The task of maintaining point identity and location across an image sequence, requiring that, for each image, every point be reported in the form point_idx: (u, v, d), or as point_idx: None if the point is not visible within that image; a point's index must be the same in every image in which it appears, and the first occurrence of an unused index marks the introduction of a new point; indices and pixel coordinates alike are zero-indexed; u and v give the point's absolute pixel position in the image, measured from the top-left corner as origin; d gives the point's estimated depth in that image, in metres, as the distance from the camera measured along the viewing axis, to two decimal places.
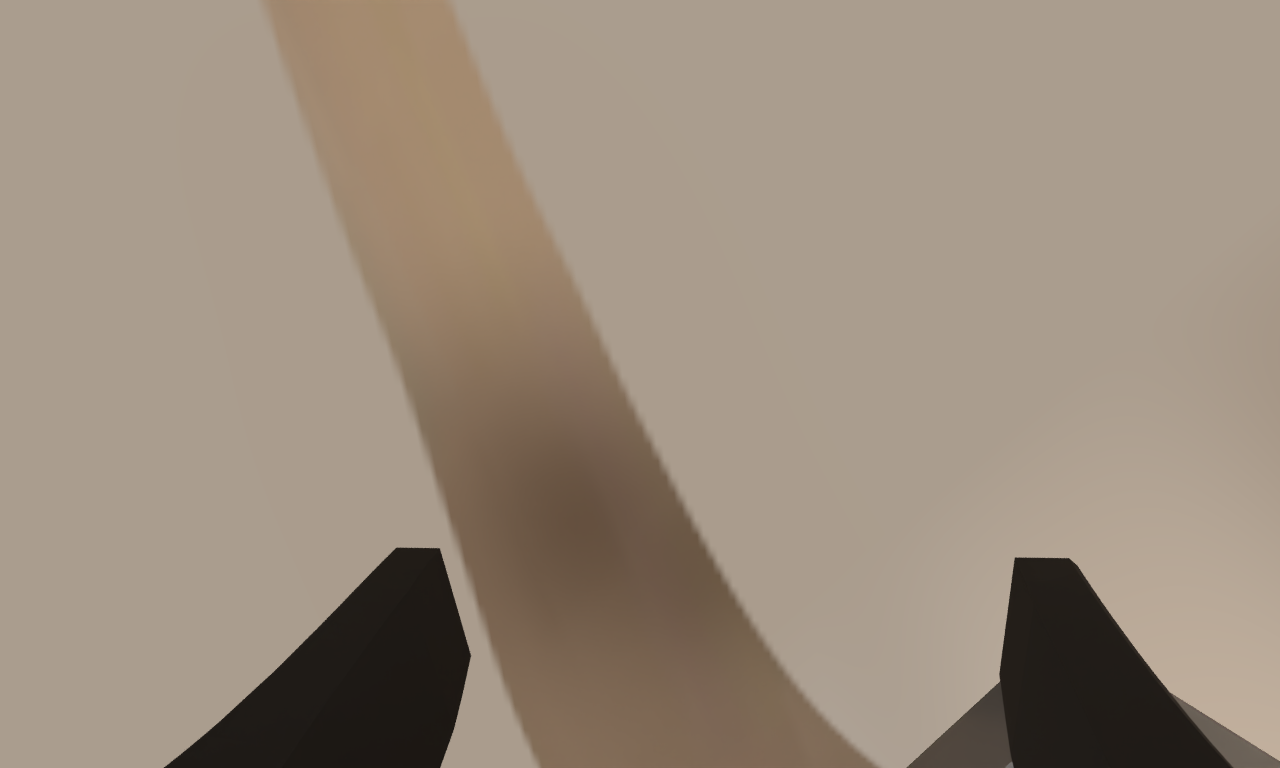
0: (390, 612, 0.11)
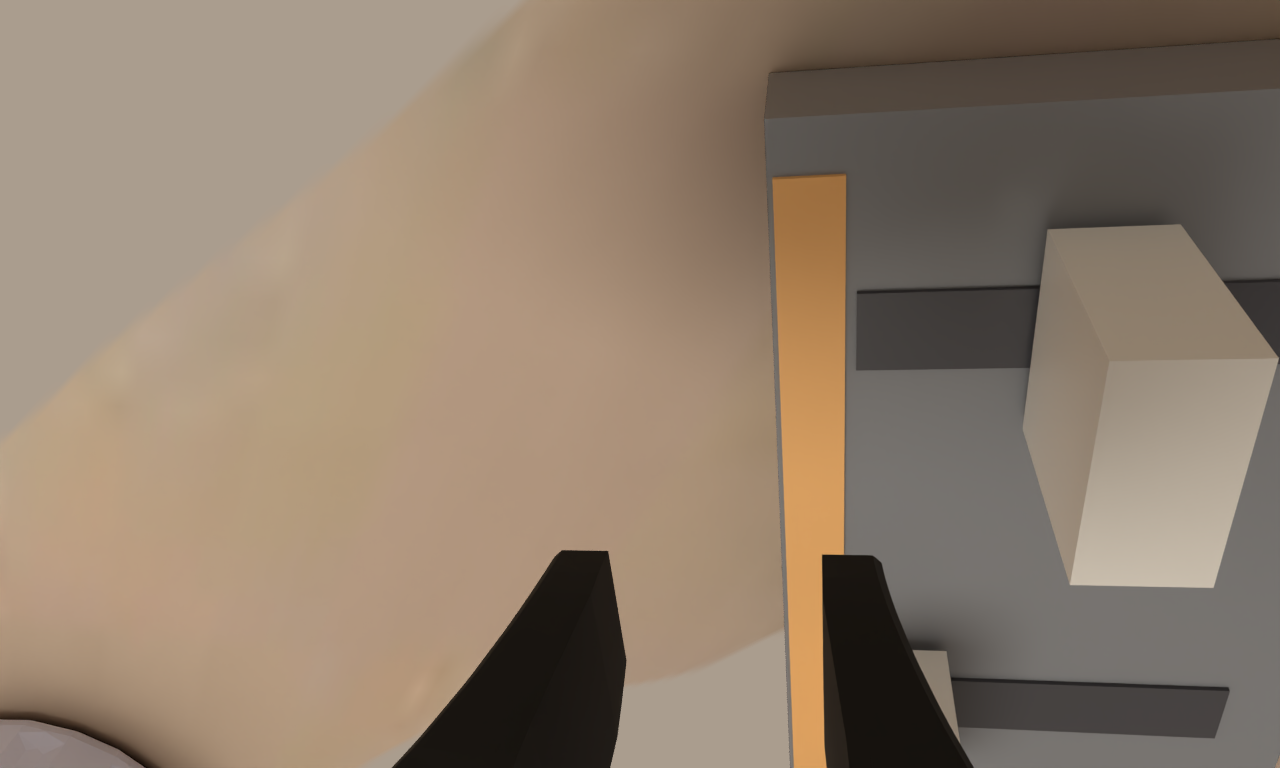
0: (577, 618, 0.11)
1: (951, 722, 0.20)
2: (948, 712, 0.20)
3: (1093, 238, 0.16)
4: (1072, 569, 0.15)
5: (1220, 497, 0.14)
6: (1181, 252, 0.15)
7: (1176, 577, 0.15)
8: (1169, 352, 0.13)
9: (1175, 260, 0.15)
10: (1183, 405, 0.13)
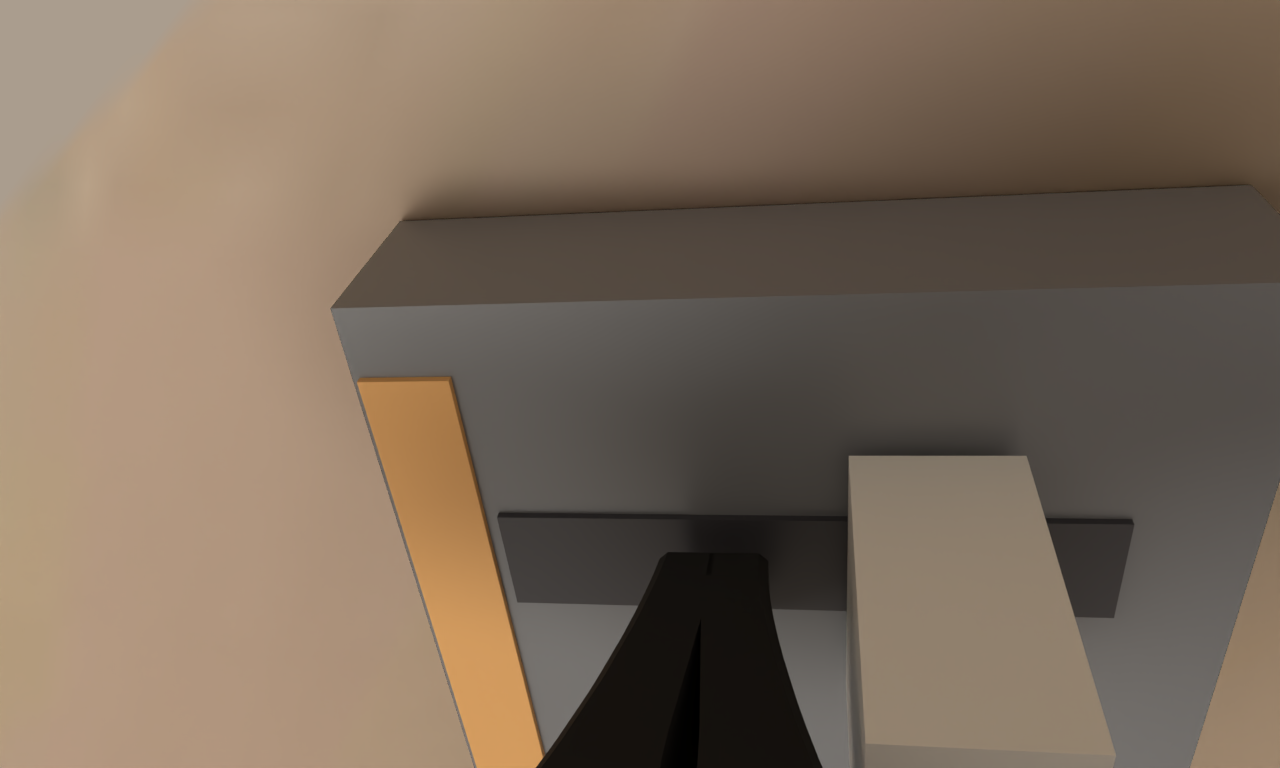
0: (698, 621, 0.11)
1: None
2: None
3: (904, 477, 0.11)
4: None
5: None
6: (1016, 512, 0.11)
7: None
8: (957, 729, 0.09)
9: (1005, 528, 0.10)
10: None
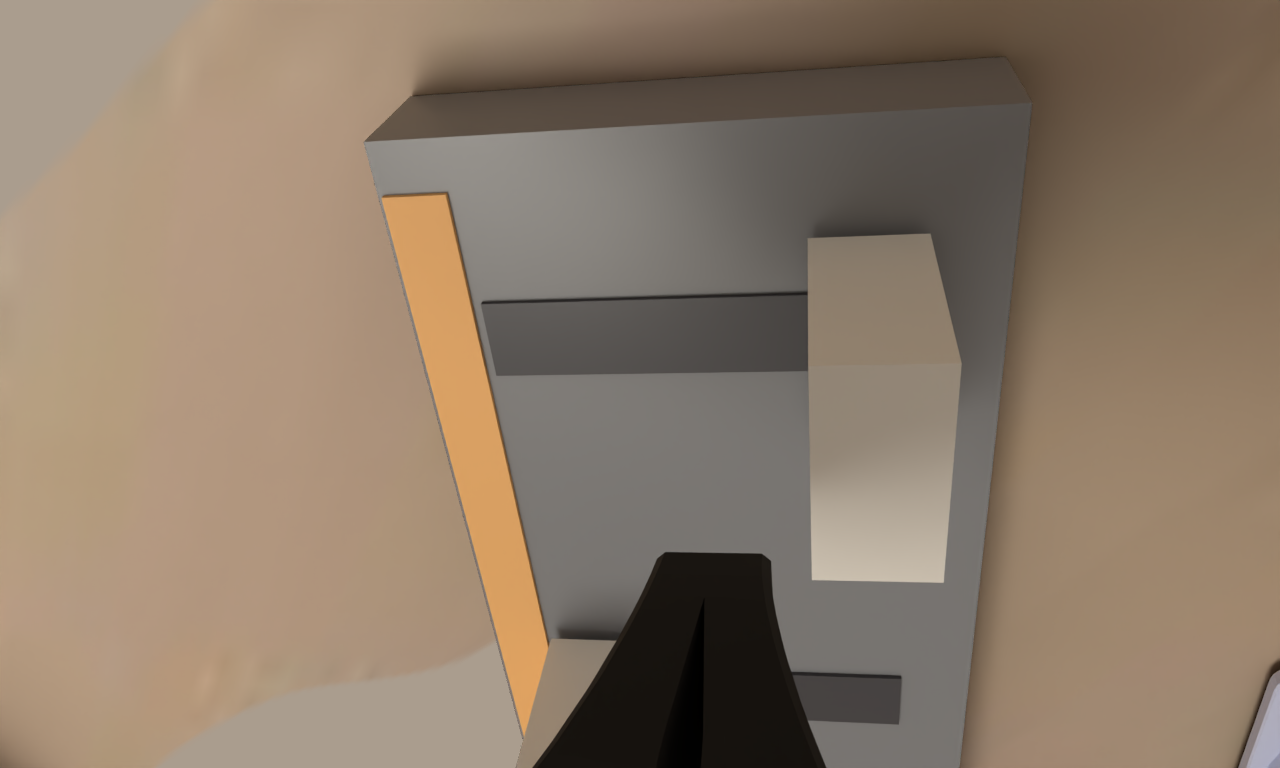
0: (694, 621, 0.11)
1: None
2: None
3: (845, 247, 0.16)
4: None
5: (933, 495, 0.14)
6: (918, 261, 0.16)
7: (908, 572, 0.15)
8: (866, 358, 0.14)
9: (910, 268, 0.15)
10: (883, 407, 0.14)
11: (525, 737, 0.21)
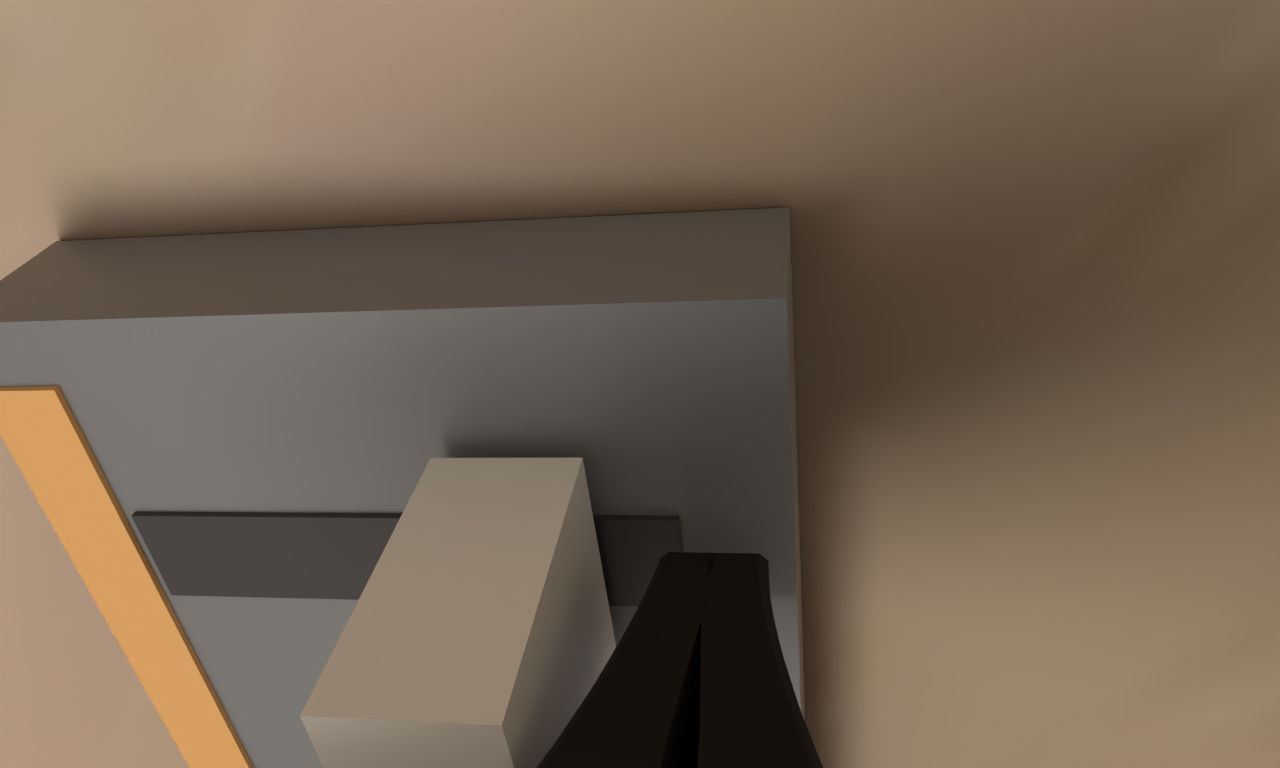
0: (698, 621, 0.11)
1: None
2: None
3: (467, 477, 0.12)
4: None
5: None
6: (544, 509, 0.12)
7: None
8: (384, 702, 0.10)
9: (526, 523, 0.11)
10: (417, 766, 0.10)
11: None
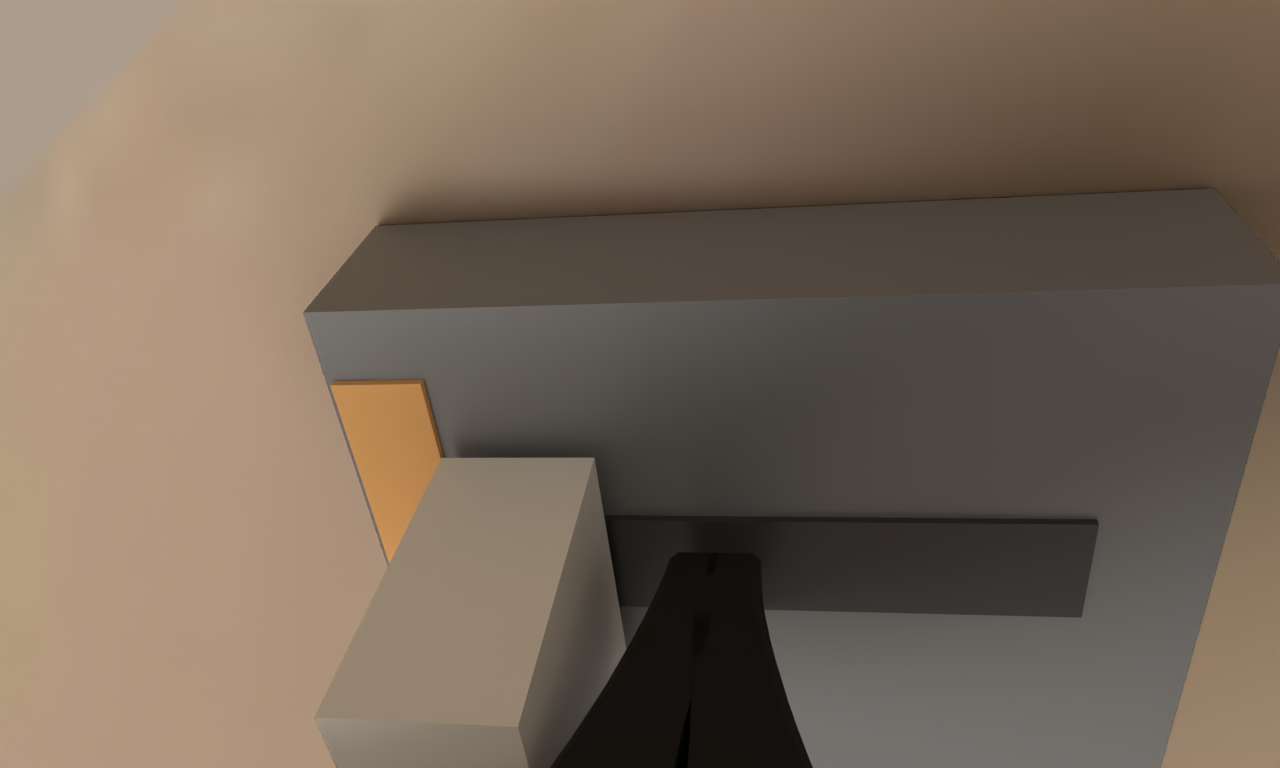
0: (709, 621, 0.11)
1: None
2: None
3: (478, 477, 0.12)
4: None
5: None
6: (556, 509, 0.12)
7: None
8: (398, 704, 0.09)
9: (538, 524, 0.11)
10: None
11: None
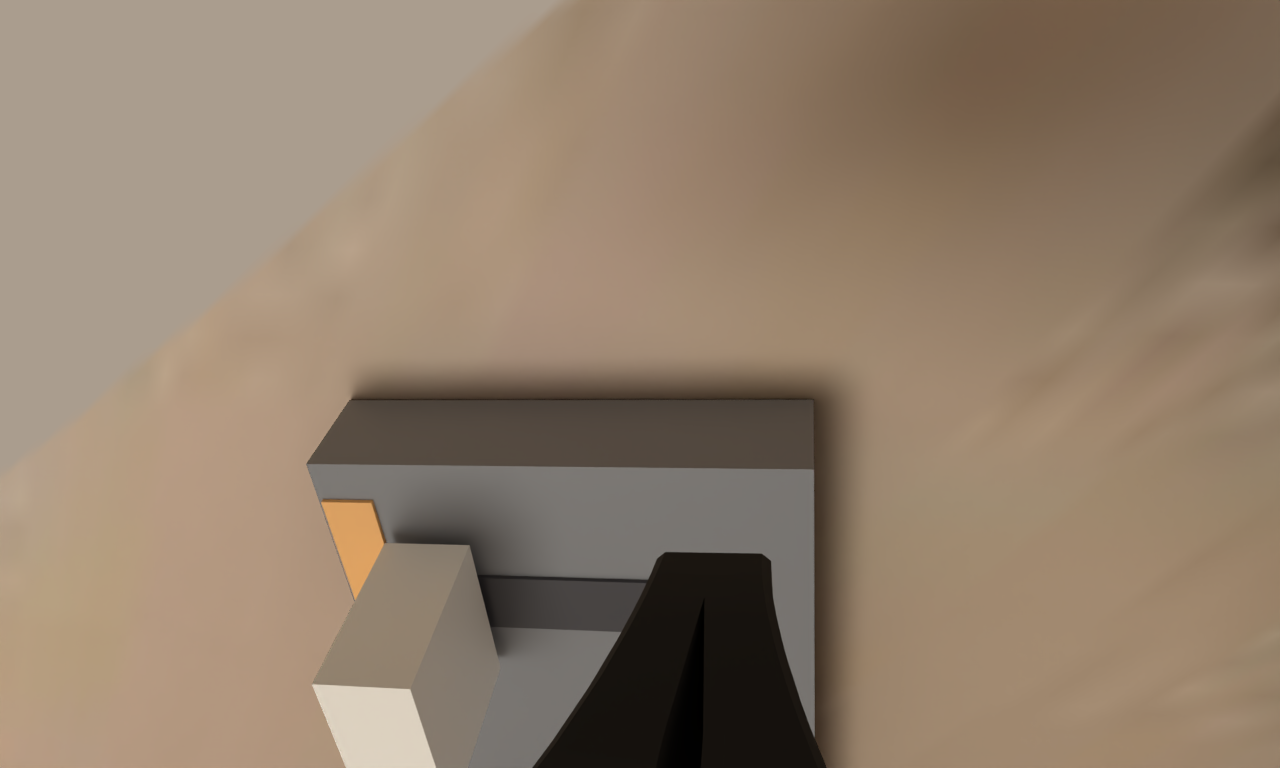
0: (695, 621, 0.11)
1: None
2: None
3: (404, 555, 0.22)
4: None
5: (423, 763, 0.20)
6: (444, 576, 0.21)
7: None
8: (353, 678, 0.19)
9: (433, 584, 0.21)
10: (370, 710, 0.19)
11: None
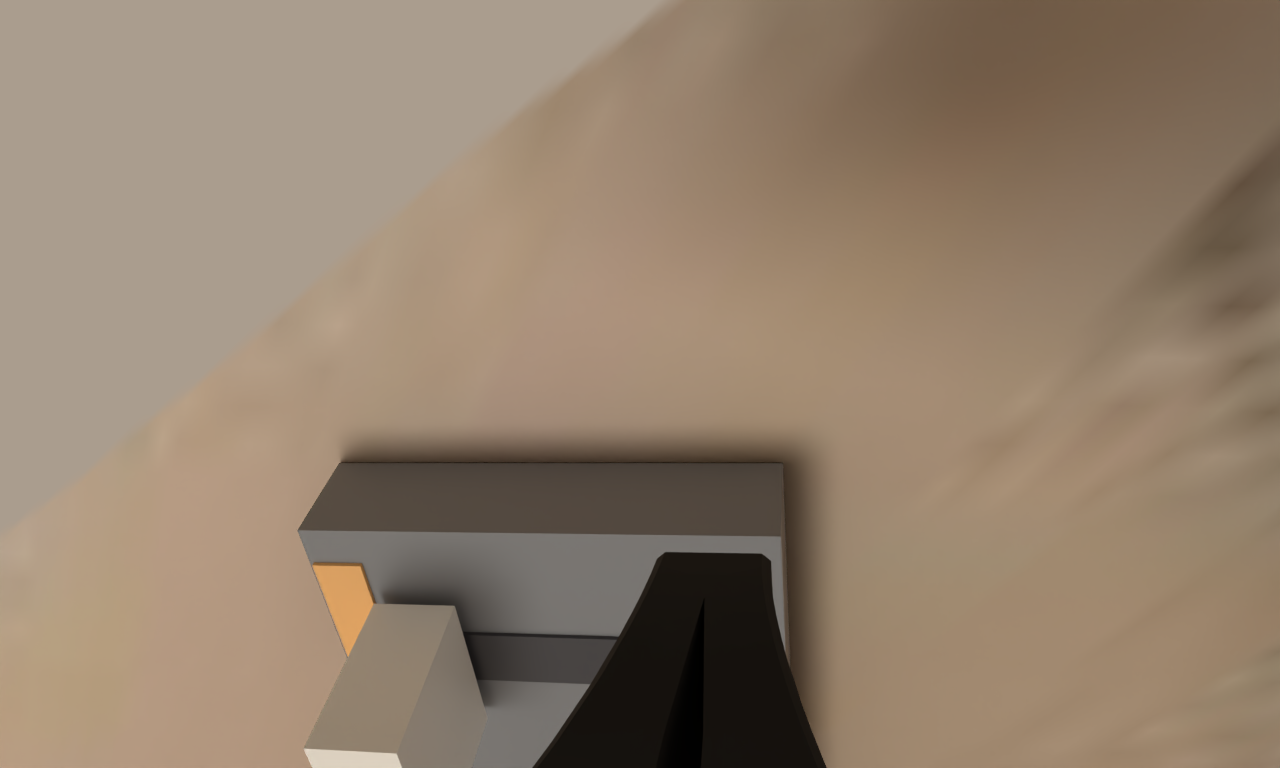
0: (694, 621, 0.11)
1: None
2: None
3: (392, 616, 0.23)
4: None
5: None
6: (430, 637, 0.22)
7: None
8: (343, 742, 0.20)
9: (420, 646, 0.22)
10: None
11: None
